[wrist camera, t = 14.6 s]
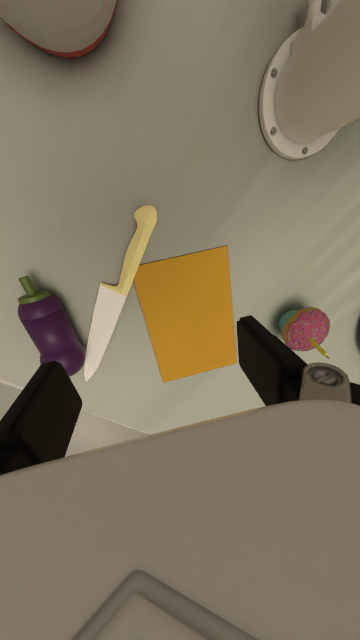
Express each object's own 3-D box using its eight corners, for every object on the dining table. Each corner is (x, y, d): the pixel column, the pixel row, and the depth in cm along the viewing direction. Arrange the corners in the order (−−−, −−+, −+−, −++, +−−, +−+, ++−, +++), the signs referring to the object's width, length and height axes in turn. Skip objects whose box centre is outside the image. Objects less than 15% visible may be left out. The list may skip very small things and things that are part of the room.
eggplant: (20, 275, 31) (-21, 289, 25) (57, 268, 30) (23, 281, 24) (66, 362, 38) (42, 387, 32) (98, 359, 37) (78, 385, 31)
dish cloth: (129, 267, 32) (129, 267, 32) (226, 245, 34) (227, 245, 33) (163, 381, 43) (163, 382, 43) (236, 362, 44) (236, 363, 44)
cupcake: (276, 345, 44) (320, 383, 33) (264, 314, 40) (310, 346, 30) (313, 324, 44) (369, 357, 33) (304, 291, 40) (365, 316, 29)
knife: (67, 377, 38) (91, 386, 39) (128, 193, 28) (160, 209, 28) (71, 373, 39) (94, 382, 40) (131, 195, 29) (161, 211, 29)
